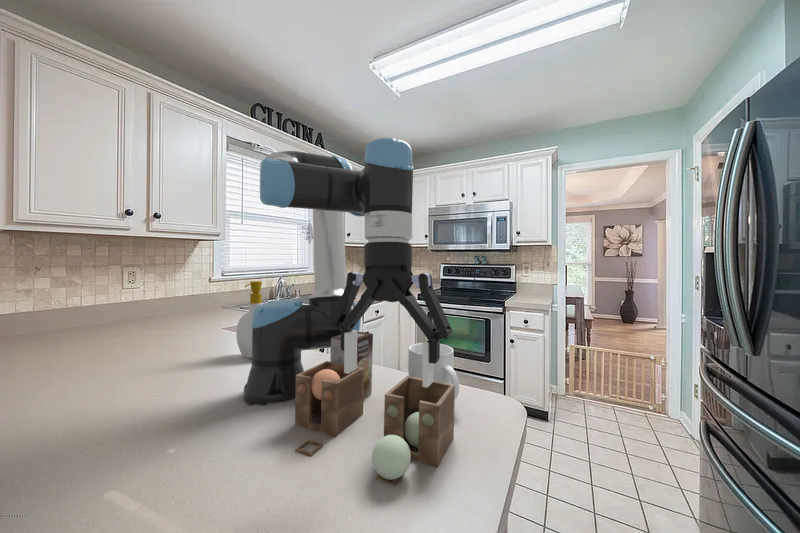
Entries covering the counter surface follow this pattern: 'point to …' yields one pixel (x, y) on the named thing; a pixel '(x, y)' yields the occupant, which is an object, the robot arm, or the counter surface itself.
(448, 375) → the mug
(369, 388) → the coffee box
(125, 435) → the counter surface
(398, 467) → the sage ball
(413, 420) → the sage ball
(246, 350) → the soap bottle
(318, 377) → the terracotta ball
